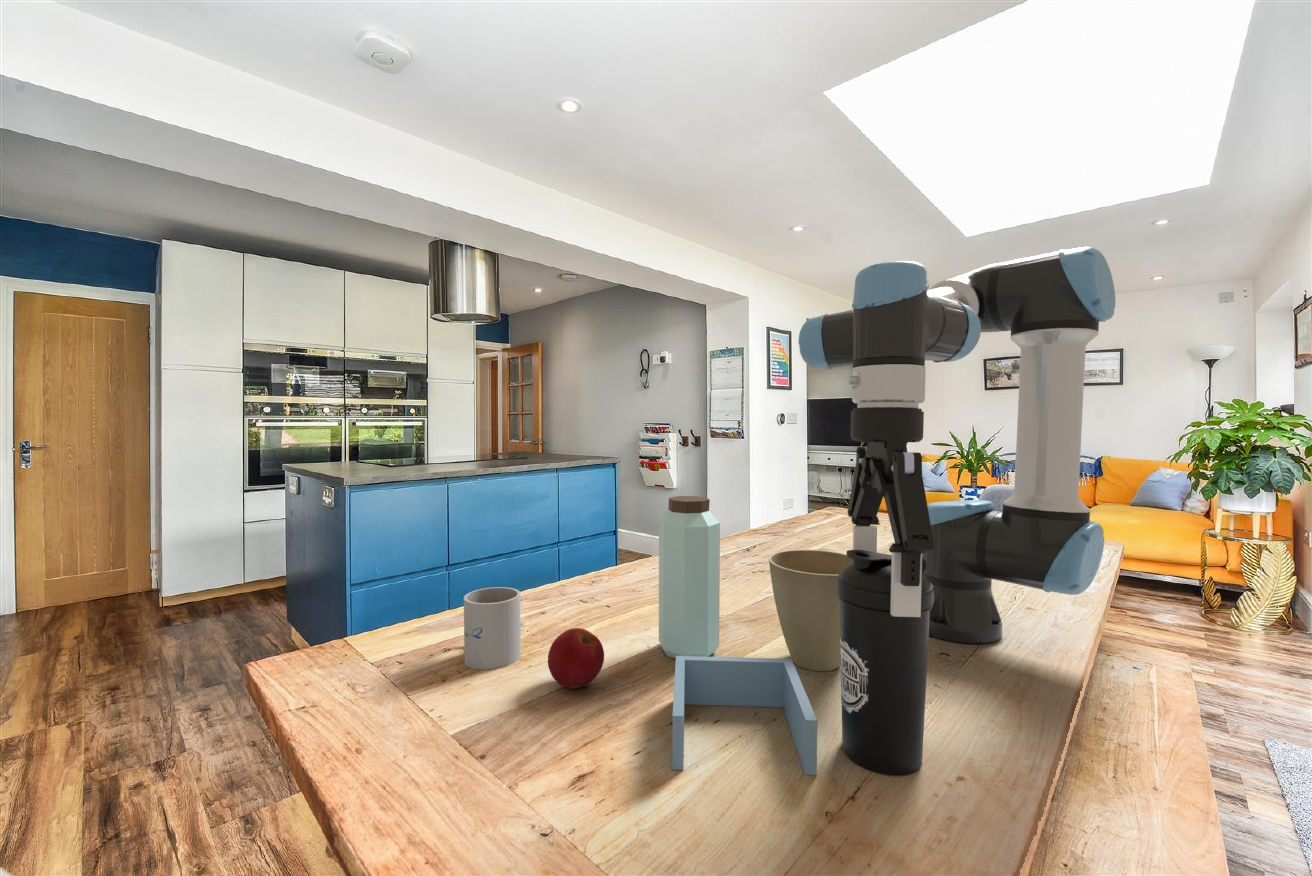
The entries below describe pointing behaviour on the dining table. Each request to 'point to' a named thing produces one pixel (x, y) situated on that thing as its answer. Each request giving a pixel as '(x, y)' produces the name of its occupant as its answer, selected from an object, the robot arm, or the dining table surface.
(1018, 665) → the dining table surface
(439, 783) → the dining table surface
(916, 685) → the water bottle
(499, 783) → the dining table surface
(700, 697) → the u rest
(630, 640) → the dining table surface
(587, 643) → the apple
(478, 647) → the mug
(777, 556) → the plant pot
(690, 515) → the water bottle
